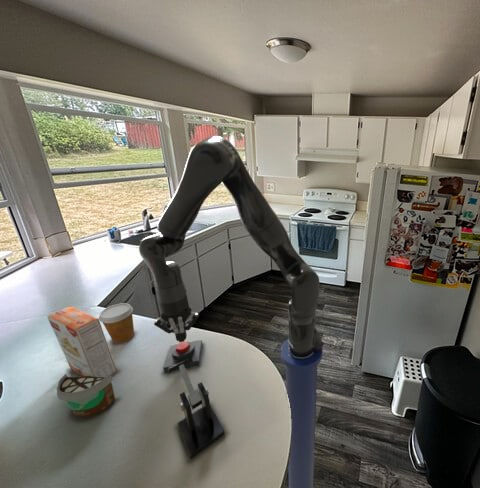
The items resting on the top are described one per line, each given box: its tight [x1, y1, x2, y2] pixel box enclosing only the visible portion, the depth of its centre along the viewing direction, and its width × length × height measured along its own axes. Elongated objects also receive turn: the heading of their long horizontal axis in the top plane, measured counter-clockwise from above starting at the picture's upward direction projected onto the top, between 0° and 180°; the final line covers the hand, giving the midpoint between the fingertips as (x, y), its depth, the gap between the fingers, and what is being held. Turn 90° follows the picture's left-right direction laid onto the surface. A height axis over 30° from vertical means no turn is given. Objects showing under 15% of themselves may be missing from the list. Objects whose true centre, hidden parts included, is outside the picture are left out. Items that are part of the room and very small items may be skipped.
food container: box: [56, 373, 116, 420], centre depth 65 cm, size 12×6×10 cm, turn 92°
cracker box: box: [47, 305, 118, 377], centre depth 75 cm, size 14×6×21 cm, turn 67°
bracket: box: [177, 381, 226, 460], centre depth 61 cm, size 10×8×13 cm
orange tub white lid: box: [98, 302, 135, 344], centre depth 91 cm, size 10×10×12 cm
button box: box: [163, 339, 204, 374], centre depth 84 cm, size 10×10×4 cm
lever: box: [168, 357, 202, 411], centre depth 62 cm, size 12×6×2 cm, turn 44°
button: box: [176, 341, 189, 353], centre depth 83 cm, size 4×4×2 cm
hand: (182, 340), depth 83 cm, fingers closed
